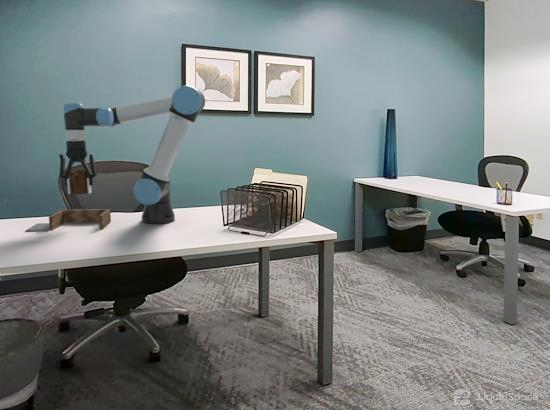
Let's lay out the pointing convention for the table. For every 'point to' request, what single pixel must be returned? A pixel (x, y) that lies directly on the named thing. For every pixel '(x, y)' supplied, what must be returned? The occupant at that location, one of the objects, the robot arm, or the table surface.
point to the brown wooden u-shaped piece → (80, 217)
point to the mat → (39, 227)
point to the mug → (79, 182)
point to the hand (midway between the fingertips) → (80, 193)
